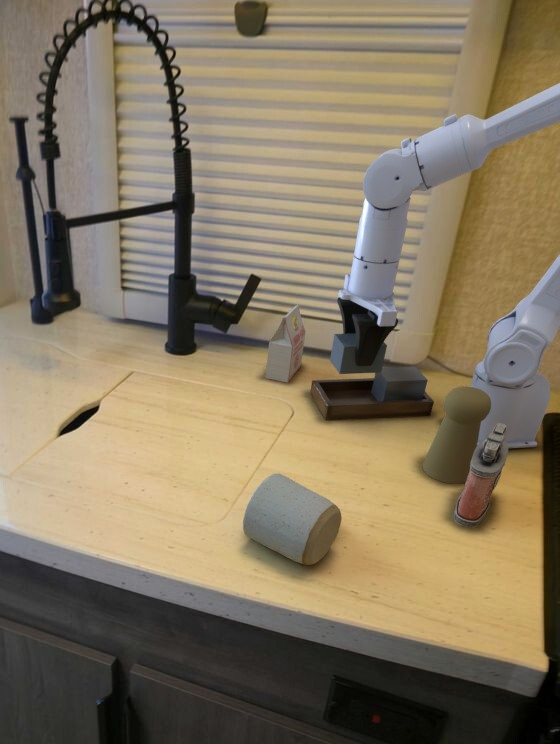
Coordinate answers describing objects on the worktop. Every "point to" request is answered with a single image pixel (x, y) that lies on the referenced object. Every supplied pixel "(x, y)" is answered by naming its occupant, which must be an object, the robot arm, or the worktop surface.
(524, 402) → the robot arm
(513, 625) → the worktop surface
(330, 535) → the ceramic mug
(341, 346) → the blue gray block
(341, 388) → the brown wooden tray
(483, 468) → the lighter
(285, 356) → the milk carton
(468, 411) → the olive pawn piece
